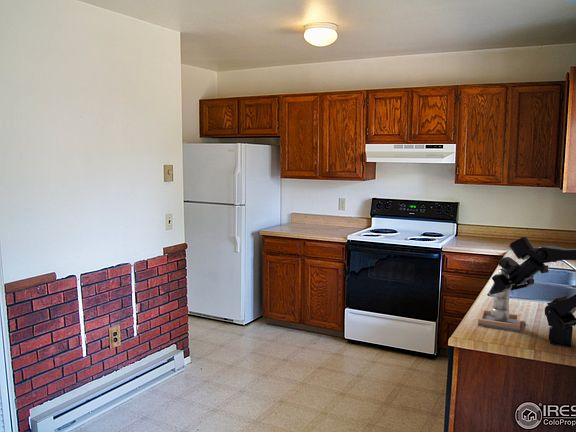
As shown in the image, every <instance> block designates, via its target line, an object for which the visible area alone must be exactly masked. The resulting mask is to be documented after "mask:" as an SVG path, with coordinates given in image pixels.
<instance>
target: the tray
mask: <svg viewBox="0 0 576 432" xmlns="http://www.w3.org/2000/svg"><path fill="white" fill-rule="evenodd" d="M477 326H480V327H488V328H492V329H493V328H495V329H500V330H506V331H514V332H520V331H521V314H518V313H510V312H509V319H508V320H507V321H504V322H501V321H496V320H493V319H492V317H491V310H489V309H483V308H482V309H480V312H479V315H478V319H477Z"/></svg>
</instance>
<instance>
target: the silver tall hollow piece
mask: <svg viewBox="0 0 576 432" xmlns="http://www.w3.org/2000/svg"><path fill="white" fill-rule="evenodd" d="M506 272H507V270H505V269H504V268H499V269H498V273H497V274H504V275H505V276H506V278H507V279H509V275H507V273H506ZM511 288H512V285H511ZM511 288H510V289H509V290H507V291H505V292H500V293H496V294H493V303H492V308H491V310H490V311H491V317H492V319H493V320H496V321H501V322H504V321H507V320H508V319H509V313H510V297H511V292H512V291H511Z"/></svg>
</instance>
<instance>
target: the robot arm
mask: <svg viewBox="0 0 576 432" xmlns="http://www.w3.org/2000/svg"><path fill="white" fill-rule="evenodd" d="M509 249H511V251H512V252H513V253H514V255H515V257H516V258H517V259H518V260H522V261H523V262H522V263H520V264H519V262H517V261H516V260H515V259H513V258H511V257H510V256H506V257H505V256H504V257H502V258H500V259H499V260H498V266H499V267H501V269H505V270H507V272H506V273H507V275H509V276H508V277H509V279H507V278H506V276H505V275H504V274H498V273H496V274H494V275H493V276H492V277H491V280H492V281H493V286H492V287H491V289H490V291H489V293H490V295H494V294H496V293H500V292H505V291H507V290H509V289H510V288H511V285H512V288H511V292H512V291H515V290H516V291H517V290H520V289H524V288H528V287H532V286H533V285H534V284H535V279H534V276H535V275H536V274H538V273H539V272H540V273H541V274H547V273H549V265H547V264H546V263H554V262H560V261H576V248H566V247H565V248H564V247H561V246H557V245H556V246H555V245H546V246H538V247H533V245H532V244H531V242H530V241H529V239H528V238H527V237H526V236H522V237H520V238H518V239H517V240H514V241H512V242H511V243H510V244H509ZM546 304H547V305H546V306H545V307H544V315H545V318H546V321H547V324H548V325H547V326H549V329H548V337H547V338H548V341H549V343H550V344H551V345H555V346H560V347H561V346H562V347H567V348H572V347H573V344H572V341H573V330H574V329H573V328H574V326H576V316H575V315H574V313H575V312H576V294H574V295H572V296H570V297H567V296H561V297H556V298H555V299H553V300H552V301H550V302H546Z"/></svg>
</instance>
